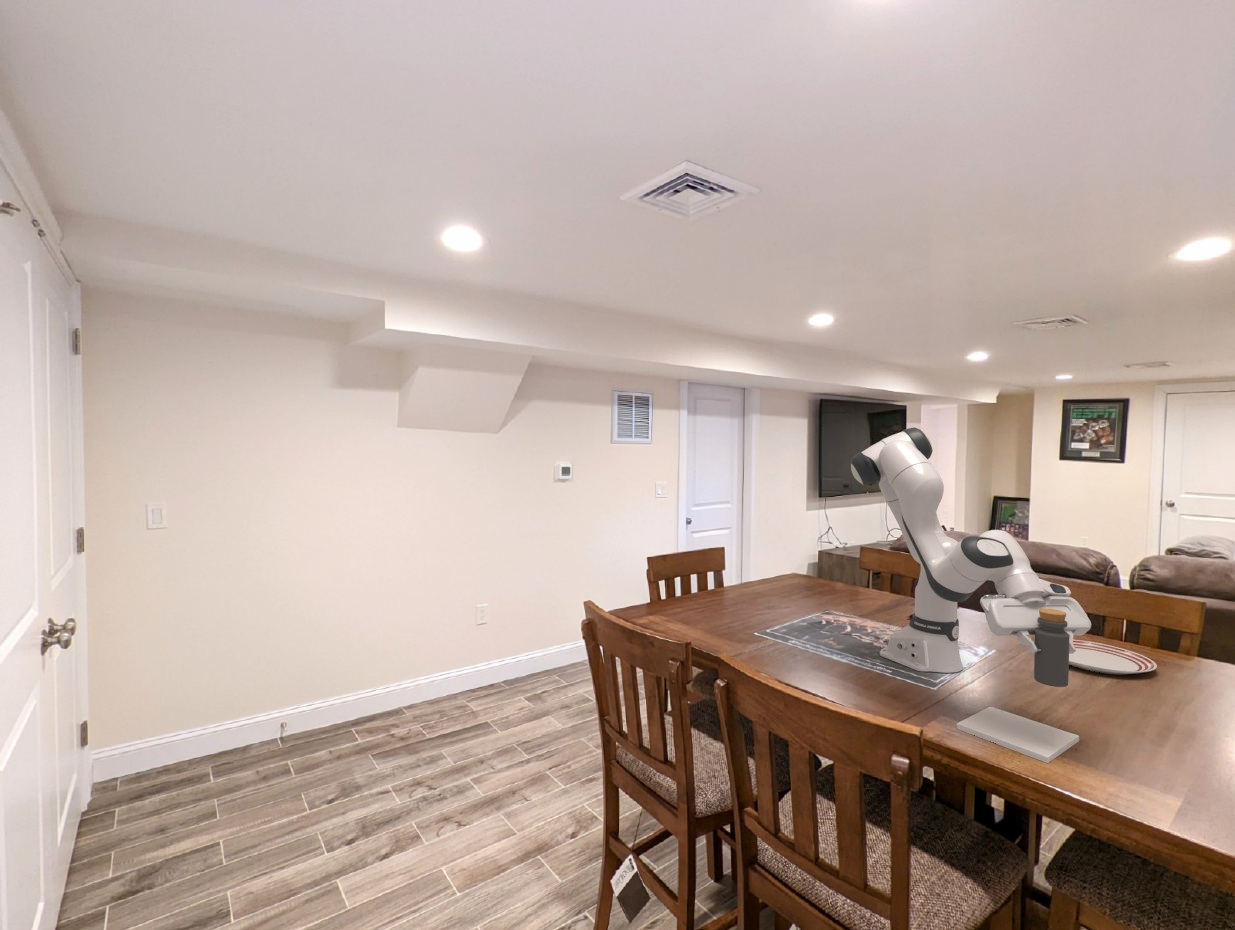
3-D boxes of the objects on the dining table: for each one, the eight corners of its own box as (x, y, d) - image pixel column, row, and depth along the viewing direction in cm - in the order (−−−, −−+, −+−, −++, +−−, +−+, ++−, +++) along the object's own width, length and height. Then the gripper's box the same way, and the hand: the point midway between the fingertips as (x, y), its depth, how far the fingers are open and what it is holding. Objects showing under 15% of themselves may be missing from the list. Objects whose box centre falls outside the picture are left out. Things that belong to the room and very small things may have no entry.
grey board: (956, 728, 136) (956, 723, 136) (990, 711, 144) (990, 706, 144) (1047, 763, 121) (1047, 757, 121) (1078, 741, 130) (1079, 735, 130)
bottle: (1027, 677, 128) (1028, 607, 127) (1052, 676, 128) (1053, 607, 128) (1049, 687, 122) (1051, 615, 121) (1075, 686, 122) (1077, 614, 122)
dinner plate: (1110, 649, 189) (1110, 638, 188) (1183, 683, 161) (1184, 671, 161) (1018, 646, 191) (1019, 636, 191) (1076, 680, 164) (1076, 668, 164)
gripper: (982, 587, 131) (1011, 645, 122) (1075, 587, 131) (1111, 645, 122) (970, 602, 136) (997, 659, 127) (1060, 601, 136) (1093, 659, 126)
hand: (1054, 652), depth 124 cm, fingers closed on bottle, 6 cm apart
